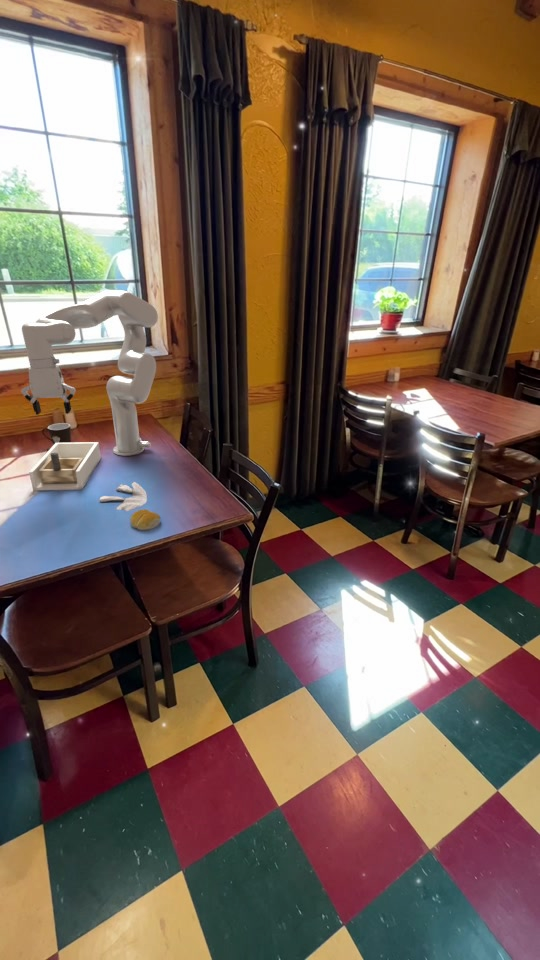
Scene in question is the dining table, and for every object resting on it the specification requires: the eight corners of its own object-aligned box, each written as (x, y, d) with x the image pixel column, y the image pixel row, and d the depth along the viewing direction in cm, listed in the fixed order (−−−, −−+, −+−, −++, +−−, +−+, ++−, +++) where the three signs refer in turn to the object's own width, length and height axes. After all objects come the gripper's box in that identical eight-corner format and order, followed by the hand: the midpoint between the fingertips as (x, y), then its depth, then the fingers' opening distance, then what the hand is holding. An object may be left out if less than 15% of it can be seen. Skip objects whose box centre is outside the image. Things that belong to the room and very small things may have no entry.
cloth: (131, 517, 141) (130, 510, 140) (76, 503, 147) (75, 497, 146) (166, 490, 158) (166, 484, 157) (115, 479, 165) (115, 473, 164)
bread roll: (144, 514, 142) (143, 503, 140) (165, 522, 138) (164, 511, 136) (124, 525, 135) (122, 513, 134) (145, 534, 131) (143, 522, 129)
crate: (85, 469, 166) (80, 442, 162) (76, 483, 156) (71, 454, 151) (52, 470, 165) (46, 443, 160) (40, 484, 155) (34, 455, 150)
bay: (100, 458, 180) (98, 442, 177) (82, 489, 155) (79, 471, 152) (59, 458, 178) (55, 442, 175) (33, 490, 153) (29, 472, 150)
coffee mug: (78, 448, 189) (74, 425, 185) (60, 454, 183) (56, 431, 179) (61, 442, 195) (57, 420, 191) (43, 448, 188) (38, 425, 184)
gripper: (73, 360, 149) (82, 408, 157) (18, 360, 147) (30, 410, 155) (67, 365, 142) (76, 415, 150) (10, 366, 140) (23, 417, 148)
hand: (53, 413), depth 152 cm, fingers open, 9 cm apart
